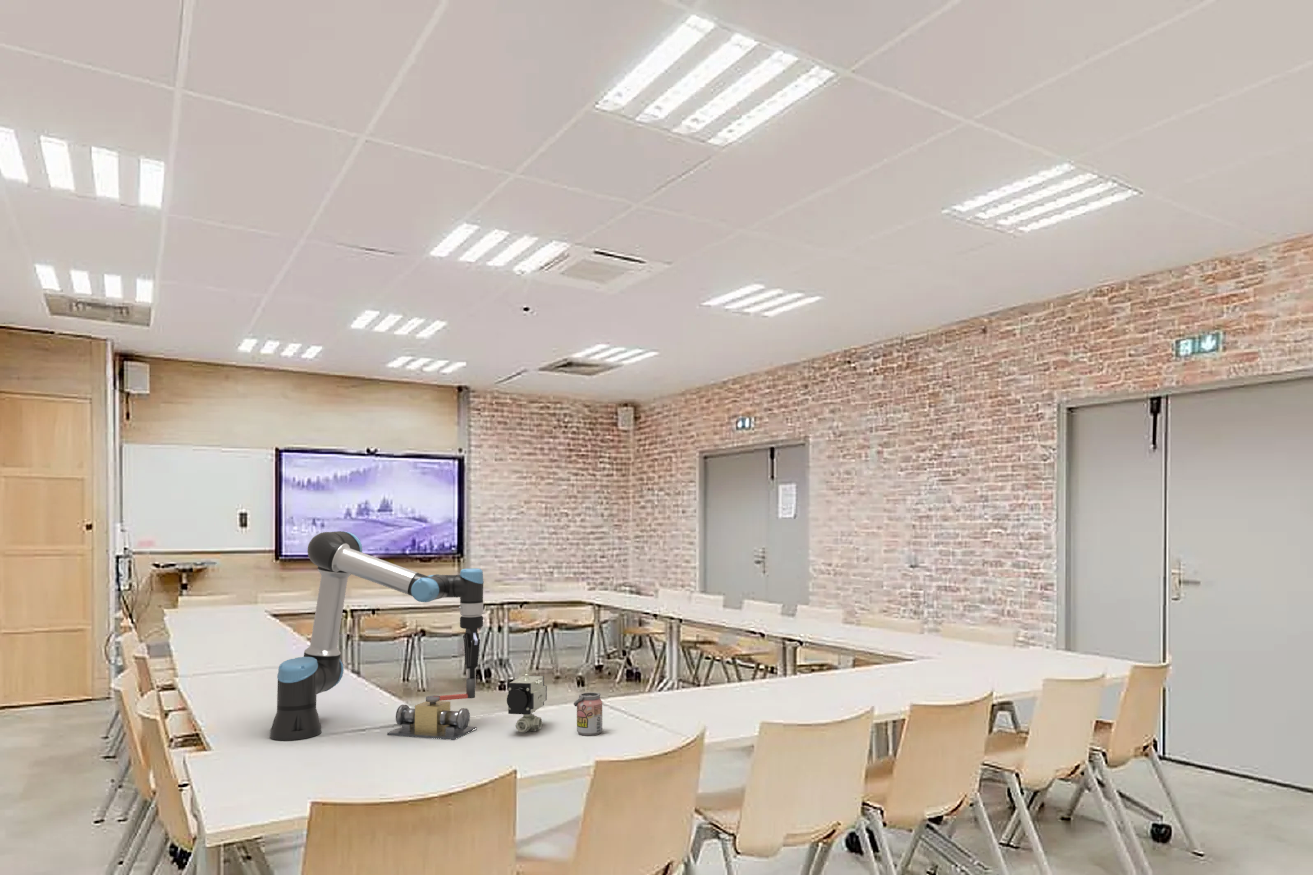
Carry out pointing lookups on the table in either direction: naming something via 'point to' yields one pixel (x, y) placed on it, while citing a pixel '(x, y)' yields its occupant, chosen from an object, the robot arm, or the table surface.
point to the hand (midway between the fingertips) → (471, 688)
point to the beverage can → (589, 714)
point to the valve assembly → (432, 721)
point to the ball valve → (527, 701)
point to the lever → (469, 694)
